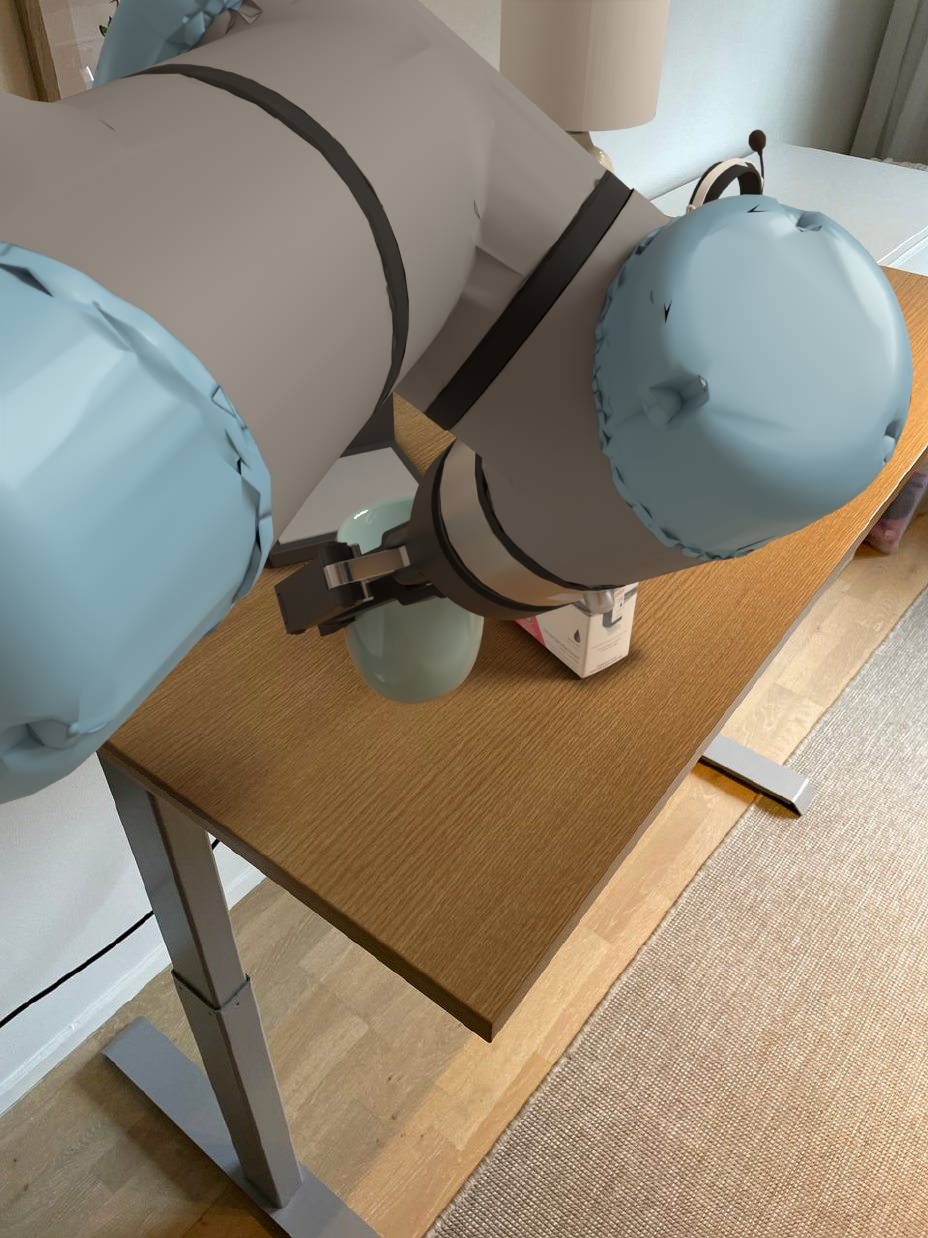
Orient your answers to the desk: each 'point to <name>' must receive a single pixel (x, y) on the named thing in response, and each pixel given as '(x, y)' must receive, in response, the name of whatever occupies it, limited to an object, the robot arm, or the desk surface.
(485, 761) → the desk surface
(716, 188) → the headset
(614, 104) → the lamp
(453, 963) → the desk surface
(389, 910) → the desk surface
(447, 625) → the cup
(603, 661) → the ink box
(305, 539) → the coffee maker
